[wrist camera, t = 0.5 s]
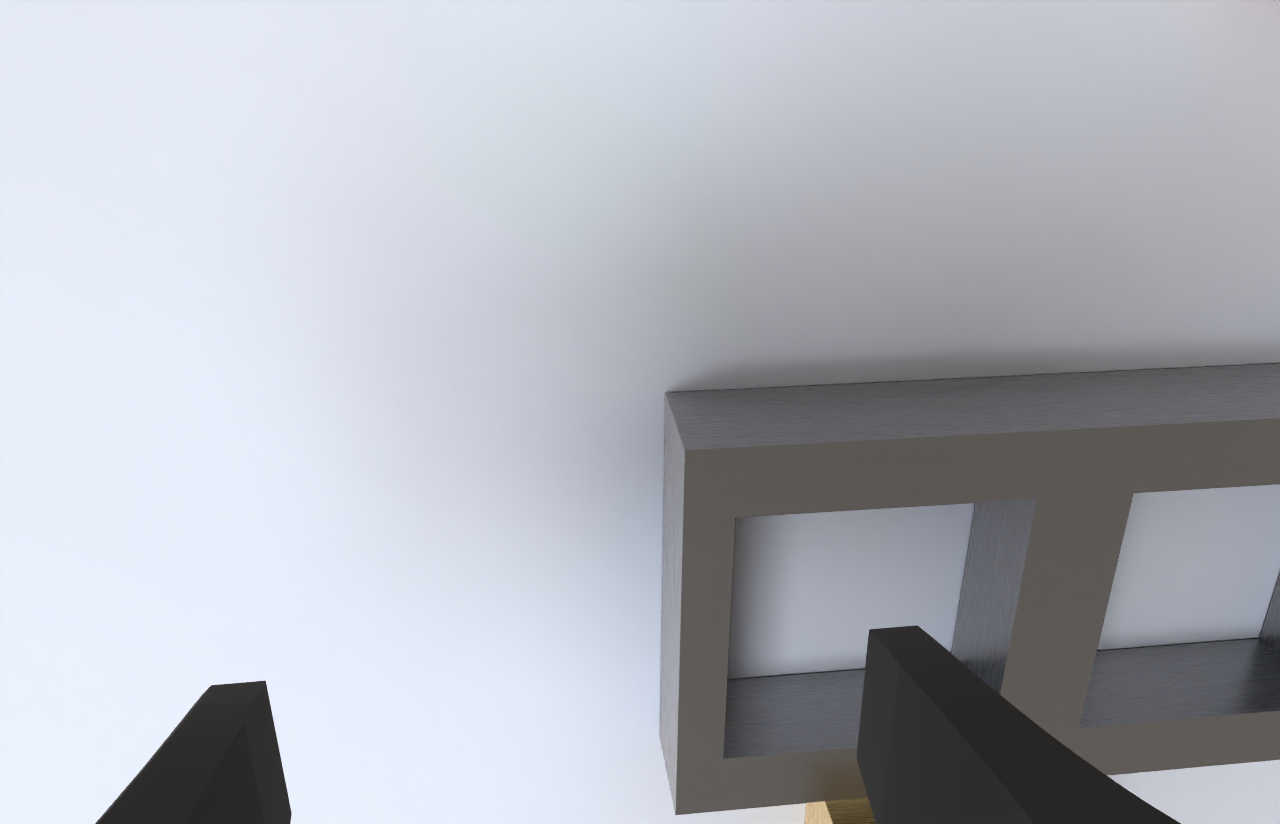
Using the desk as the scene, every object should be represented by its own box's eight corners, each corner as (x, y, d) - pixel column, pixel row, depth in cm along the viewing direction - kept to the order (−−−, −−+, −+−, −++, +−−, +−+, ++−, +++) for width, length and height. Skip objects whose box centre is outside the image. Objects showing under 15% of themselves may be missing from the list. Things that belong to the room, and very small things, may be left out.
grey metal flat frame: (1281, 683, 28) (1349, 752, 26) (659, 735, 26) (675, 814, 24) (1388, 358, 24) (1480, 407, 22) (665, 392, 22) (684, 449, 20)
